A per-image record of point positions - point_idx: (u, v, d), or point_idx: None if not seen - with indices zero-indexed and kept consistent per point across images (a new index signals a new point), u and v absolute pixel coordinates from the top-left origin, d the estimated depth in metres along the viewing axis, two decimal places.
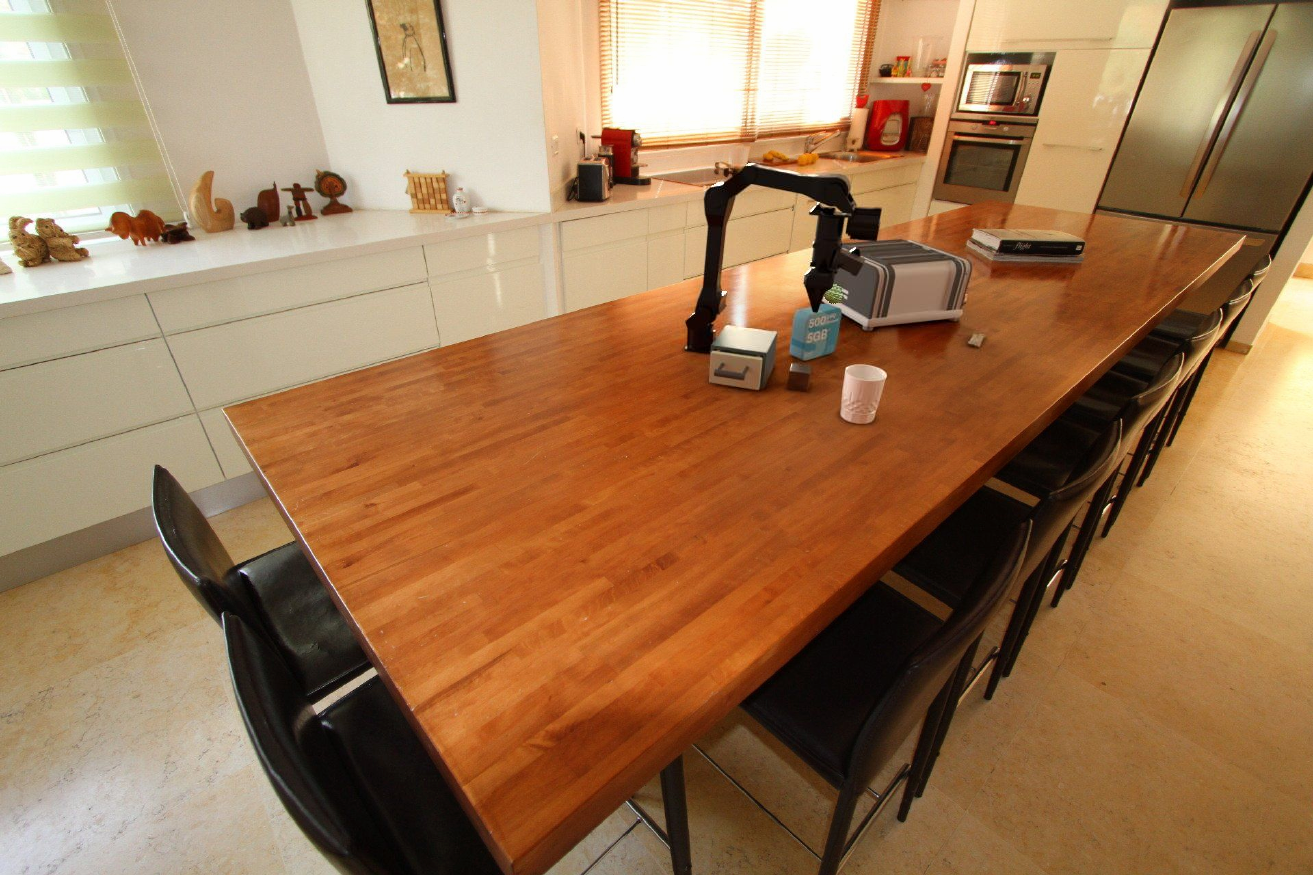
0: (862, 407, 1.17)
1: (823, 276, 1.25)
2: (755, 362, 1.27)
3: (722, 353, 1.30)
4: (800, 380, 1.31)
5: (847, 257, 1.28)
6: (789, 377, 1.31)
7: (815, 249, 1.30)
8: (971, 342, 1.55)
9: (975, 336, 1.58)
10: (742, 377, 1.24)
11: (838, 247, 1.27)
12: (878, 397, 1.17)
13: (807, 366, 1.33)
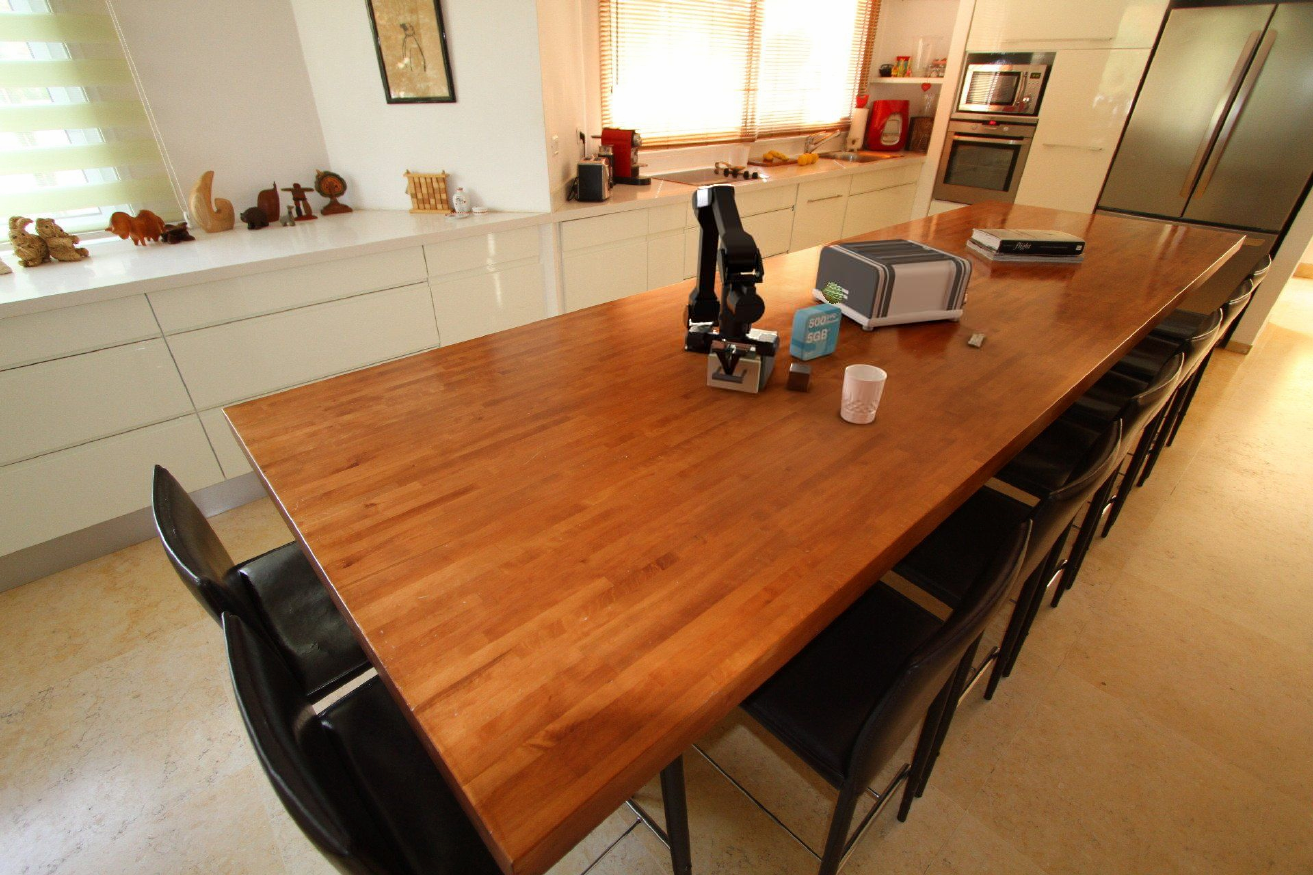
0: (862, 407, 1.17)
1: (778, 340, 1.19)
2: (754, 365, 1.26)
3: None
4: (800, 380, 1.31)
5: None
6: (789, 377, 1.31)
7: (740, 323, 1.17)
8: (971, 342, 1.55)
9: (975, 336, 1.58)
10: (740, 380, 1.23)
11: None
12: (878, 397, 1.17)
13: (807, 366, 1.33)
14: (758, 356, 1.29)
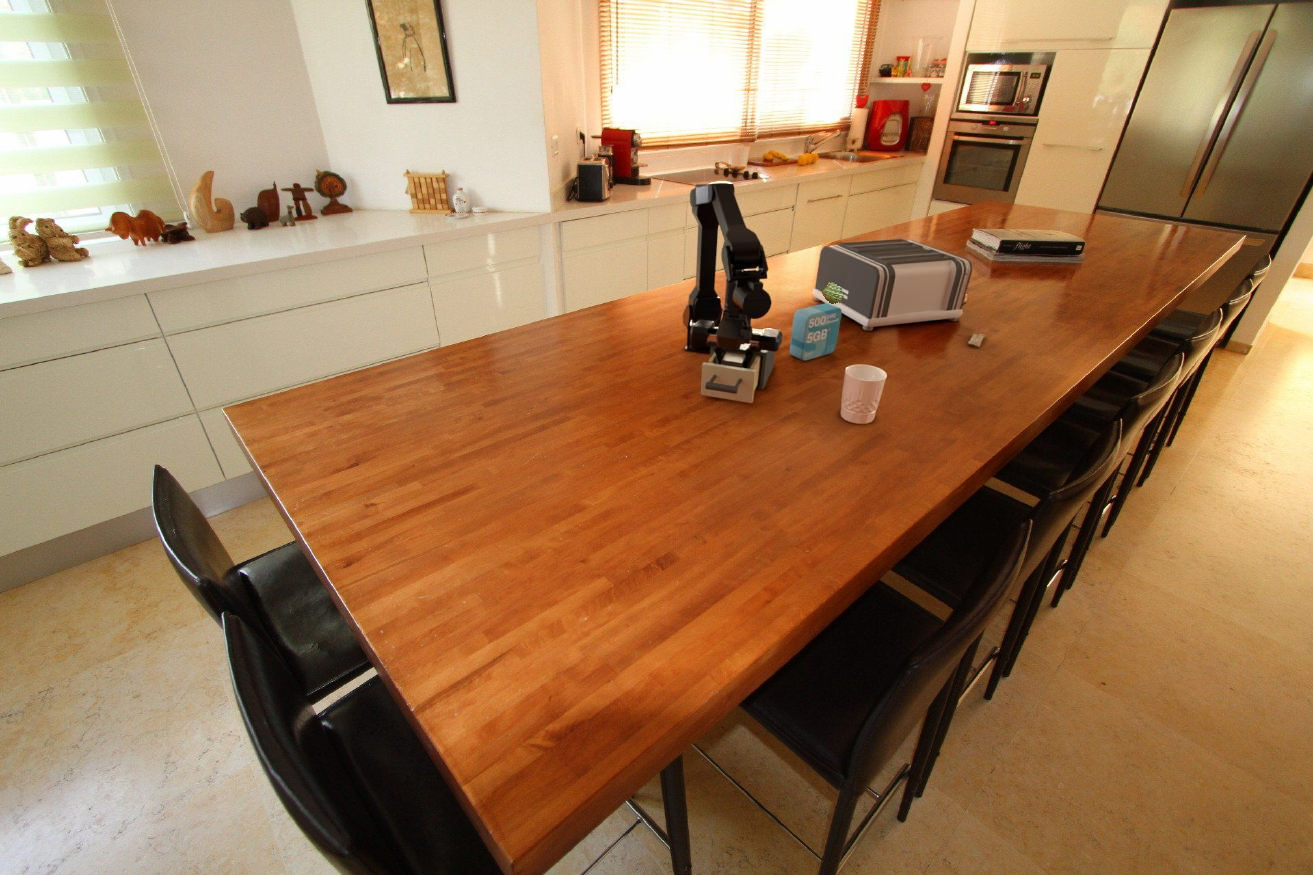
0: (862, 407, 1.17)
1: (692, 326, 1.26)
2: (749, 374, 1.22)
3: (714, 365, 1.24)
4: None
5: (720, 324, 1.19)
6: None
7: None
8: (971, 342, 1.55)
9: (975, 336, 1.58)
10: (734, 390, 1.19)
11: (723, 311, 1.20)
12: (878, 397, 1.17)
13: (739, 360, 1.26)
14: (753, 365, 1.25)
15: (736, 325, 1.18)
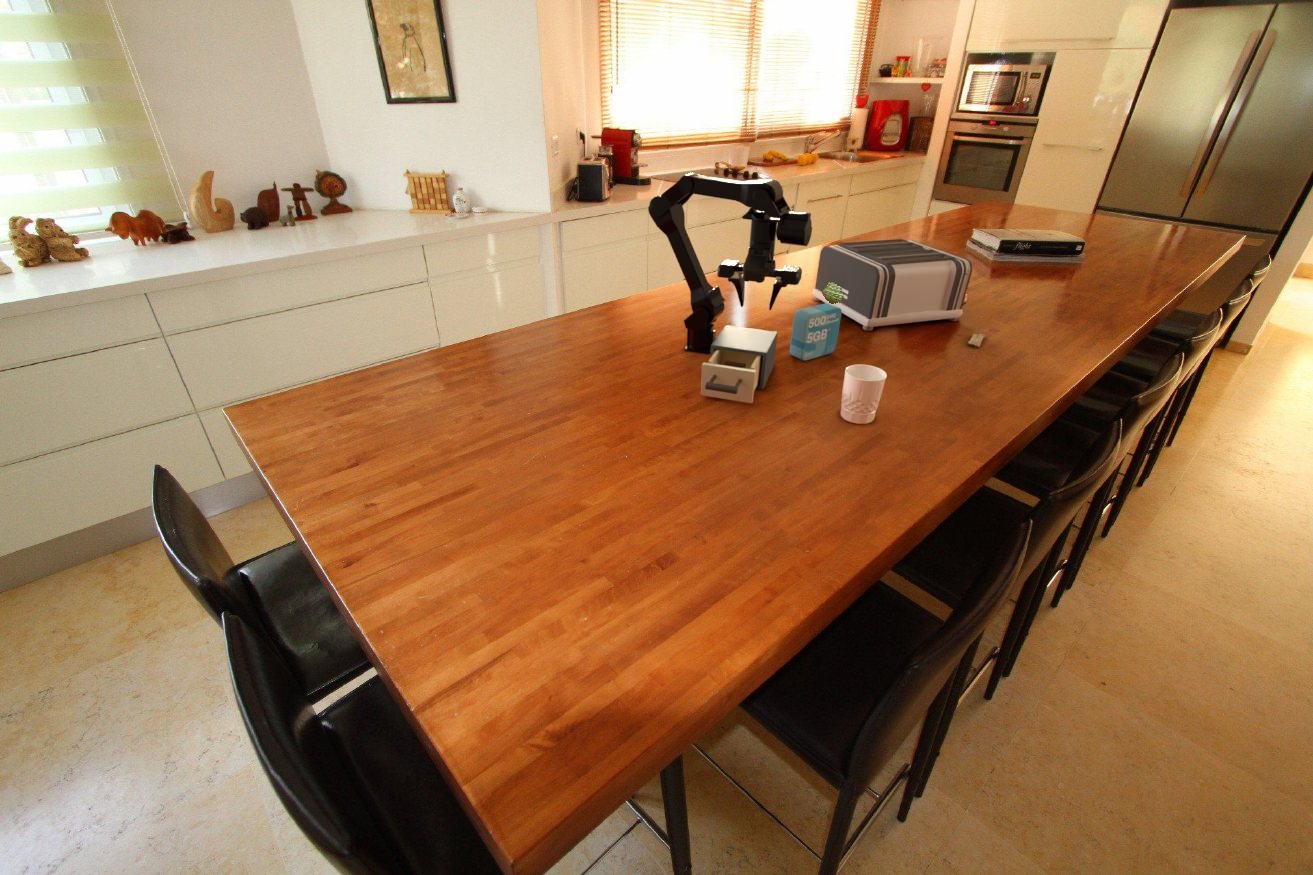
0: (862, 407, 1.17)
1: (719, 265, 1.38)
2: (749, 374, 1.22)
3: (714, 365, 1.24)
4: None
5: (746, 260, 1.32)
6: None
7: None
8: (971, 342, 1.55)
9: (975, 336, 1.58)
10: (734, 390, 1.18)
11: None
12: (878, 397, 1.17)
13: None
14: (753, 365, 1.25)
15: (761, 260, 1.30)
